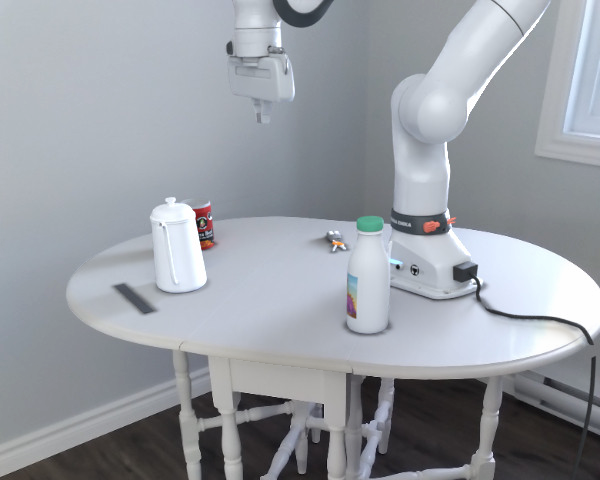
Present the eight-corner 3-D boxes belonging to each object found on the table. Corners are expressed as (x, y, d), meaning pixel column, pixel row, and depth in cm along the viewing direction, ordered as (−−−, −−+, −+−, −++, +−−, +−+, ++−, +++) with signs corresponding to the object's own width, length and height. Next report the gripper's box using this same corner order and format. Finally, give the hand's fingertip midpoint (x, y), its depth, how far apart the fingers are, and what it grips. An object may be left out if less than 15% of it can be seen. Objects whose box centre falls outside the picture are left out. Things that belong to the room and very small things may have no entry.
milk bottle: (392, 319, 121) (397, 213, 110) (383, 337, 115) (387, 226, 104) (352, 315, 123) (354, 211, 113) (341, 332, 117) (342, 223, 106)
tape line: (153, 310, 128) (153, 310, 128) (144, 313, 127) (144, 312, 127) (123, 284, 141) (123, 283, 141) (114, 286, 140) (114, 285, 140)
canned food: (190, 252, 158) (185, 208, 152) (180, 244, 164) (174, 200, 158) (219, 247, 161) (215, 203, 155) (208, 239, 167) (203, 196, 161)
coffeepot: (145, 309, 129) (128, 216, 119) (167, 266, 150) (155, 184, 140) (198, 308, 128) (186, 214, 119) (213, 265, 150) (204, 183, 140)
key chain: (325, 236, 166) (324, 230, 165) (339, 235, 166) (339, 229, 165) (332, 252, 155) (332, 246, 154) (347, 251, 155) (347, 245, 154)
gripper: (301, 45, 116) (303, 127, 124) (247, 43, 131) (252, 116, 138) (271, 48, 114) (275, 131, 121) (220, 45, 128) (226, 119, 136)
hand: (262, 123), depth 130 cm, fingers closed
